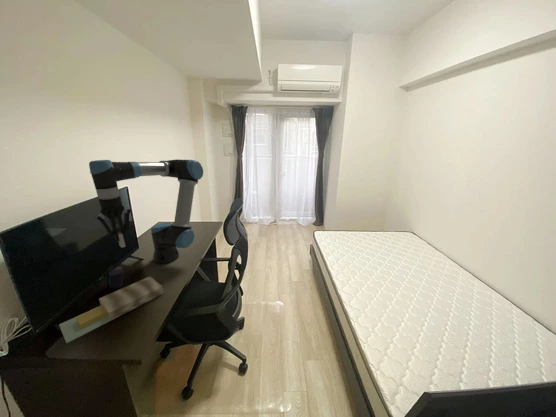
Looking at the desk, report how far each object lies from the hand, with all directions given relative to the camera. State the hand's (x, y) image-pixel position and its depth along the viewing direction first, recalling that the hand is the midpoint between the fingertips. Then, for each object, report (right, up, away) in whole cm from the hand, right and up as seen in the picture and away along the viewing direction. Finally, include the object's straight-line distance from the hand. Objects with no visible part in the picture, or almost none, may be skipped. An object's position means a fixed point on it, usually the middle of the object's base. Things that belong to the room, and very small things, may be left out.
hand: (122, 246), depth 101 cm
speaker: (-13, -23, +14) cm, 30 cm away
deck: (+3, -26, +4) cm, 27 cm away
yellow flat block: (-7, -29, -8) cm, 31 cm away
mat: (-8, -30, -10) cm, 33 cm away
